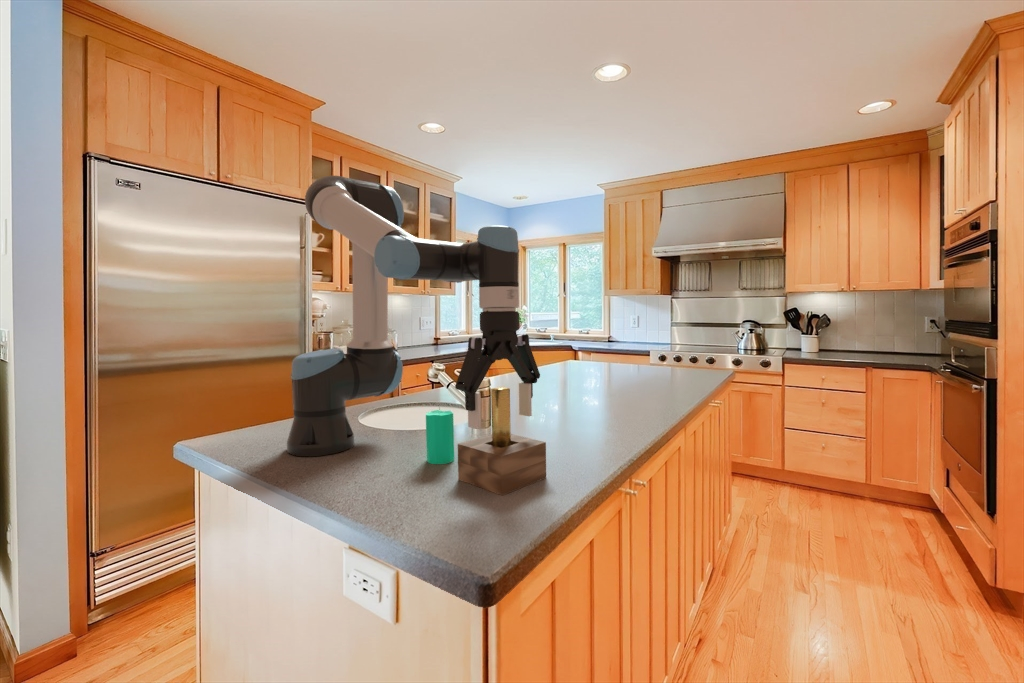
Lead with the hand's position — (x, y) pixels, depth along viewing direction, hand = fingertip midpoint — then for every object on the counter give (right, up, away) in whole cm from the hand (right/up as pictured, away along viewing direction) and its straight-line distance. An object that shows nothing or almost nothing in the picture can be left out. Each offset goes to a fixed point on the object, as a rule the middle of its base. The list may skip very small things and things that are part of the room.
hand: (501, 421), depth 93 cm
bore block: (0, -11, +1) cm, 11 cm away
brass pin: (0, -8, 0) cm, 8 cm away
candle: (-14, -11, +13) cm, 22 cm away
